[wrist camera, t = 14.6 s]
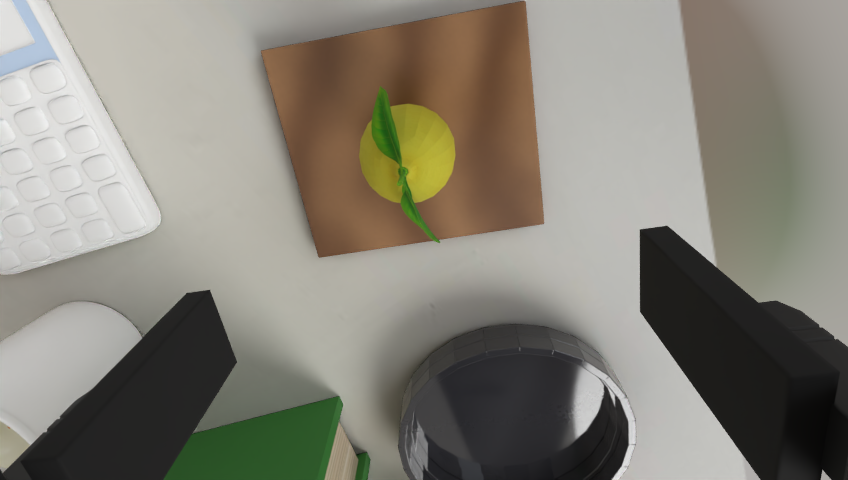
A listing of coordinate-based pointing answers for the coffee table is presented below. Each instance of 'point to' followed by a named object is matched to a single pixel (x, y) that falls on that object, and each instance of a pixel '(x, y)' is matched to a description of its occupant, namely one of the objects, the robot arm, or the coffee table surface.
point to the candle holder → (55, 368)
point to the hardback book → (275, 448)
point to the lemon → (406, 155)
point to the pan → (515, 410)
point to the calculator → (58, 151)
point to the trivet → (425, 86)
